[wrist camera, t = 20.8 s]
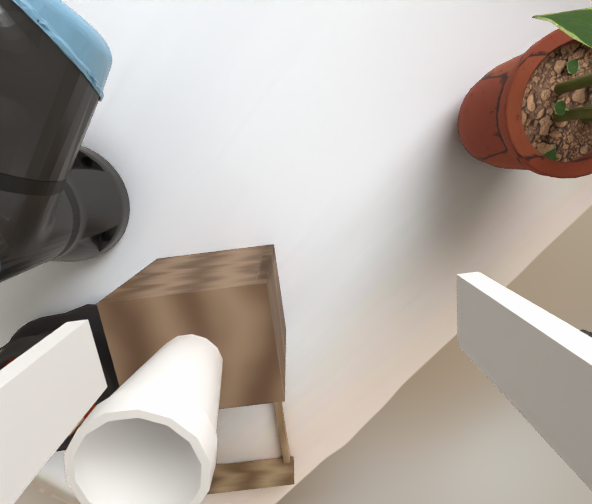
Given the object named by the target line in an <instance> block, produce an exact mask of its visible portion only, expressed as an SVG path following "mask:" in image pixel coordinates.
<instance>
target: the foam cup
mask: <svg viewBox="0 0 592 504" xmlns="http://www.w3.org/2000/svg"><path fill="white" fill-rule="evenodd" d="M222 362H223V359H222V357H221V355H220V352H219V350H218V348H217V347H216V346H215V345H214V344H213V343H211V342H210V341H209V340H208V339H206V338H204V337H200V336H197V335H193V334H189V335H181V336H177V337H175V338H174V339H172V340H171V341H169V342H167V343H166V344H165V345H164V346H163V347H161V348H160V349H159V350H158V351H157V352H156V353H155V354H154V355H153V356H152V357H151V358H150V359H149V360H148V361H147V362H146V363H145V364H144V365H143V366H141V367H140V368H139V369H138V370H137V371H136V372H135V373H134V374H133V375H132V376H131V377H130V378H129V379H128V380H127V381H126V382H125V383H124V384H122V385H121V386H120V387H119V388H118V389H117V390H116V391H115V392H114V393H113V394H112V395H111V396H110V397H109V398H107V399H106V400H104V401H102V402H101V403H99V404H97V405H96V407H95V408H94V409H93V410H92V412H91V413H90V414H89V415H88V417H87V418H86V419H85V420H84V422H83V423H82V424H81V426H80V427H79V428H78V429H77V431H76V433H75V435H74V437H73V438H72V440H71V442H70V444H69V446H68V448H67V449H66V451H65V453H64V462H65V477H66V482H67V484H68V485H69V487H70V488H71V490H72V491H73V493H74V495H75V496H76V498H77V499H78V501H79V502H80V504H200V503H201V502H202V500H203V499H204V497H205V496H206V494H207V493H208V492H209V490H210V486H211V482H212V477H213V473H214V469H215V465H216V459H217V441H218V436H217V434H216V431H217V421H218V410H219V400H220V389H221V378H222Z"/></svg>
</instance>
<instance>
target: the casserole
mask: <svg viewBox="0 0 592 504" xmlns="http://www.w3.org/2000/svg"><path fill="white" fill-rule="evenodd" d="M87 319H88V321H89V324H90V328H91V331H92V335H93V338H94V342H95V345H96V349H97V352H98V356H99V359H100V363H101V366H102V370H103V373H104V377H105V380H106V384H107V388H106V389H105V391H104V392H103V393H102V394H101V396H100V397H99V398H98V399H97V401H96V402H95V403H94V404H93V406H92V407H91V408H90V409H89V411H88V412H87V413H86V414H85V415H84V417H83V418H82V419H81V420H80V422H79V423H78V424H77V425H76V427H75V428H74V429H73V430H72V432H71V433H70V434H69V435H68V437H67V438H66V439H65V440H64V442H63V443H62V444H61V445H60V447H59V448H58V449H57V450H56V451H62V450H66V449H67V448H68V446H69V444H70V442H71V440H72V438H73V437H74V435H75V433H76V431H77V429H78V428H79V427H80V426H81V424H82V423H83V422H84V420H85V419H86V418H87V417H88V415H89V414H90V413H91V412H92V410H93V409H94V408H95V407H96V405H97V404H99V403H101V402H102V401H104V400H106V399H107V398H109V397H110V396H111V395H112V394H113V393H114V392H115V391H116V390H117V389H118V388H119V387H120V386H119V383H118V379H117V376H116V372H115V368H114V365H113V361H112V358H111V354H110V350H109V347H108V343H107V340H106V336H105V332H104V329H103V325H102V322H101V318H100V314H99V311H98V307H97V305H94V304H87V305H84V306H82V307H79V308H77V309H74V310H72V311H69V312H66V313H63V314H57V315H52V316H47V317H42V318H38V319H36V320H34V321H31V322H29V323H27V324H26V325H24V326H23V327H22V328H20V329H19V330H18V331H17V332H16V333H15V334H14V335H13V337H12V338H11V340H10V341H9V343H7V344H6V345H4V346H3V347H2V348H0V370H1V369H3V368H4V367H5V366H7V365H8V364H9V363H11V362H12V361H14V360H15V359H16V358H18V357H19V356H20V355H22V354H23V353H25V352H26V351H27V350H29V349H30V348H32V347H33V346H34V345H36V344H37V343H38V342H40V341H41V340H43V339H44V338H45V337H47V336H48V335H50V334H51V333H52V332H54V331H55V330H56V329H58V328H59V327H61V326H62V325H63V324H65V323H66V322H71V321H79V320H87Z"/></svg>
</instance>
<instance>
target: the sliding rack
mask: <svg viewBox="0 0 592 504" xmlns="http://www.w3.org/2000/svg"><path fill="white" fill-rule="evenodd" d="M274 406H275V412H276V418H277V424H278V431H279V437H280V443H281V450H282V456H283V458H276V459H267V460H259V461H250V462H242V463H233V464H224V465H215V469H214V473H213V477H212V482H211V486H210V490H209V492H208V493H207V494H214V493H222V492H231V491H239V490H248V489H257V488H265V487H274V486H282V485H291V484H294V459H293V457H290V454H289V447H288V441H287V434H286V428H285V421H284V414H283V408H282V402H274Z"/></svg>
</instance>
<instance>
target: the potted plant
mask: <svg viewBox="0 0 592 504" xmlns="http://www.w3.org/2000/svg"><path fill="white" fill-rule="evenodd" d="M532 18H536V19H541V20H546V21H550V22H551V23H553V24H554V25H555V26H557V27H558V28H559V29H557V30H555V31H553V32H552V33H550V34H548V35H547V36H545V37H544V38H542V39H541V40H539V41H538V42H537V43H535V44H534V45H532V46H531V47H530V48H529V49H528V50H527V51H526V52H525V53H524V54H522V55H520V56H517V57H515V58H513V59H511V60H509V61H507V62H505V63H503V64H501V65H499V66H497V67H496V68H494V69H493V70H491V71H490V72H489V73H487V74H486V75H485V76H484V77H483V78H482V79H481V80H479V81H478V82H477V83H476V84H475V85H474V86H473V87H472V88H471V89H470V91H469V92H468V94H467V95H466V97H465V98H464V101H463V103H462V105H461V108H460V112H459V116H458V130H459V135H460V138H461V141H462V143H463V145H464V147H465V149H466V150H467V151H468V152H469V153H470V154H471V155H472V156H474V157H475V158H476V159H478V160H481V161H483V162H485V163H488V164H490V165H493V166H495V167H500V168H506V169H521V170H530V171H532V172H535V173H537V174H539V175H544V176H550V177H556V178H577V177H581V176H586V175H589V174H592V8H585V9H579V10H573V11H566V12H560V13H553V14H545V15H536V16H533V17H532Z"/></svg>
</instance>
